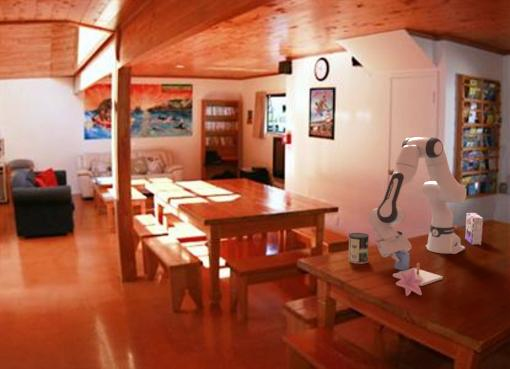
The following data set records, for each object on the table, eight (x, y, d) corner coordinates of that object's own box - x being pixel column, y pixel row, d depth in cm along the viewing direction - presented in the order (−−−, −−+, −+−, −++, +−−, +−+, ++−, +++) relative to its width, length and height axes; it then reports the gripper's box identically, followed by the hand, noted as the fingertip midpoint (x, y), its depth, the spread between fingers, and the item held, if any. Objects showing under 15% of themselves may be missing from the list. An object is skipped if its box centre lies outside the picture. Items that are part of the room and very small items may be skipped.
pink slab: (413, 270, 243) (414, 256, 242) (442, 278, 230) (443, 264, 229) (392, 276, 234) (393, 262, 233) (421, 286, 221) (421, 270, 220)
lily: (390, 296, 212) (398, 281, 207) (392, 277, 222) (399, 263, 216) (417, 305, 211) (426, 291, 205) (417, 287, 220) (426, 272, 215)
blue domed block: (401, 266, 248) (401, 249, 247) (408, 268, 245) (409, 251, 243) (394, 268, 246) (395, 251, 244) (402, 270, 242) (403, 253, 240)
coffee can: (367, 258, 262) (368, 232, 260) (368, 264, 252) (369, 237, 250) (348, 257, 264) (348, 232, 262) (348, 263, 254) (348, 237, 252)
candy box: (464, 238, 301) (466, 212, 298) (474, 239, 300) (476, 212, 297) (471, 244, 287) (472, 217, 284) (481, 245, 286) (483, 217, 284)
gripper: (378, 237, 242) (393, 261, 236) (404, 231, 254) (419, 253, 248) (371, 244, 247) (385, 267, 240) (397, 237, 258) (412, 260, 252)
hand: (403, 260), depth 244 cm, fingers closed on blue domed block, 5 cm apart
